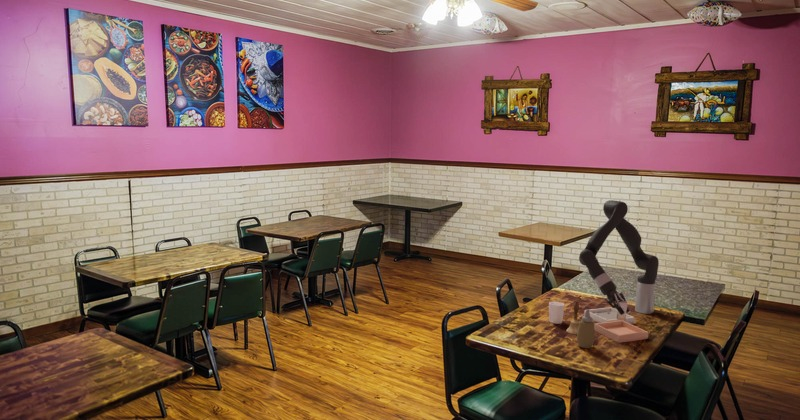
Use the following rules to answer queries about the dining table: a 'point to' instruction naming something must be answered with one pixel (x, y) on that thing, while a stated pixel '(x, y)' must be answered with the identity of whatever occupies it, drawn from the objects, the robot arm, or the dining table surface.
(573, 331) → the hand bell
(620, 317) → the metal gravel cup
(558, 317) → the white cup
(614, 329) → the terracotta bin
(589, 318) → the squeeze bottle
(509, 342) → the dining table surface
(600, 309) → the bin
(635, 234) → the robot arm
